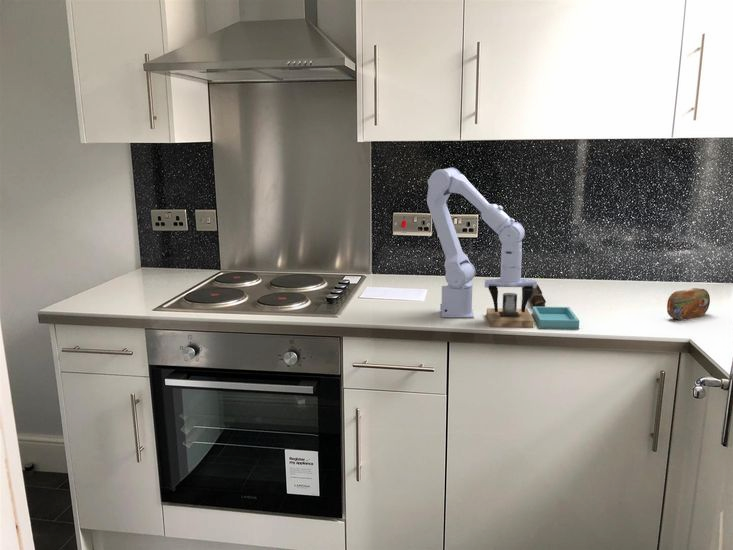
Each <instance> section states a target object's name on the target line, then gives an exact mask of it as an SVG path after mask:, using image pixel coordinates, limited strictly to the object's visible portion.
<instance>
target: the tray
mask: <svg viewBox="0 0 733 550" xmlns="http://www.w3.org/2000/svg"><path fill="white" fill-rule="evenodd" d="M531 316H532V317H533V316H534V317H533V318H534V320H535V322H536V324H537V326H538V328H539V329H540V330H542V329H546V330H548V329H551V330H555V329H556V330H579V329H580V320H579V318H578V316H576V314H575V313H574V311H573V310H572V309H571V308H570V306H545V307H533V306H532V314H531Z"/></svg>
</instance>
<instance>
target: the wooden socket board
mask: <svg viewBox="0 0 733 550" xmlns="http://www.w3.org/2000/svg"><path fill="white" fill-rule="evenodd" d="M486 318H487V322H488V325H489V328H528V327H529V328H531V329H532V328H534V319H533V316H532V314H531V313H530V312H529V309H528V308H525V312H522V311H521V308H517V310H516V317H502V308H499V307H498V312H495V310H494V307H493V308H490V307H489V308H488V307H487V308H486Z"/></svg>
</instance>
